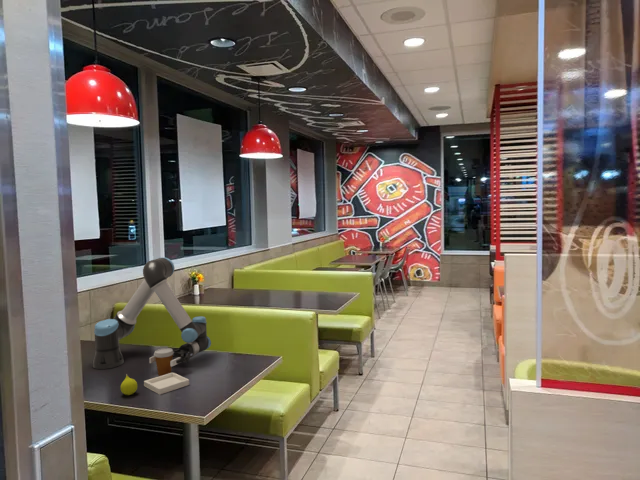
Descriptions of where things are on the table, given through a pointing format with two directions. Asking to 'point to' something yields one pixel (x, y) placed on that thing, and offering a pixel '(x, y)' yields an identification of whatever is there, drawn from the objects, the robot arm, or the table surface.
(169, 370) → the disposable coffee cup
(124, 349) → the table surface
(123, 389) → the ornament
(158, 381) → the square tray
